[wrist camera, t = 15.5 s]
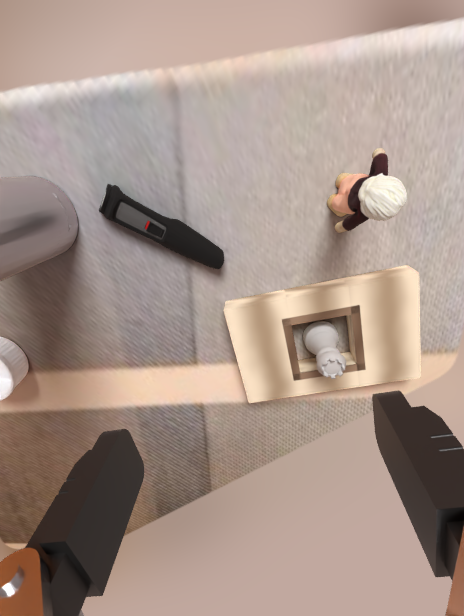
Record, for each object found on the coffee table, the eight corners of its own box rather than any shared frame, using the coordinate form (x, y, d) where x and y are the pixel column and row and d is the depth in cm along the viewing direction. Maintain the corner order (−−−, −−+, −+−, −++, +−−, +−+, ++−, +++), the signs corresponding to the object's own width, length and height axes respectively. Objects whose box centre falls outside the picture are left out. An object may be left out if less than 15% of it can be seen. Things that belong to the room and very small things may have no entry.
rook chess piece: (339, 320, 41) (358, 353, 34) (333, 350, 43) (350, 387, 36) (304, 317, 42) (315, 350, 34) (300, 348, 43) (309, 384, 36)
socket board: (249, 389, 47) (248, 403, 44) (225, 301, 41) (223, 310, 39) (410, 364, 43) (420, 377, 41) (407, 265, 38) (419, 272, 35)
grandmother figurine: (352, 227, 37) (397, 256, 25) (319, 222, 37) (349, 247, 25) (375, 153, 34) (439, 146, 22) (339, 147, 34) (383, 137, 22)
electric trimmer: (216, 272, 40) (214, 280, 38) (99, 210, 38) (87, 214, 35) (231, 246, 39) (229, 252, 36) (110, 180, 37) (98, 181, 34)
